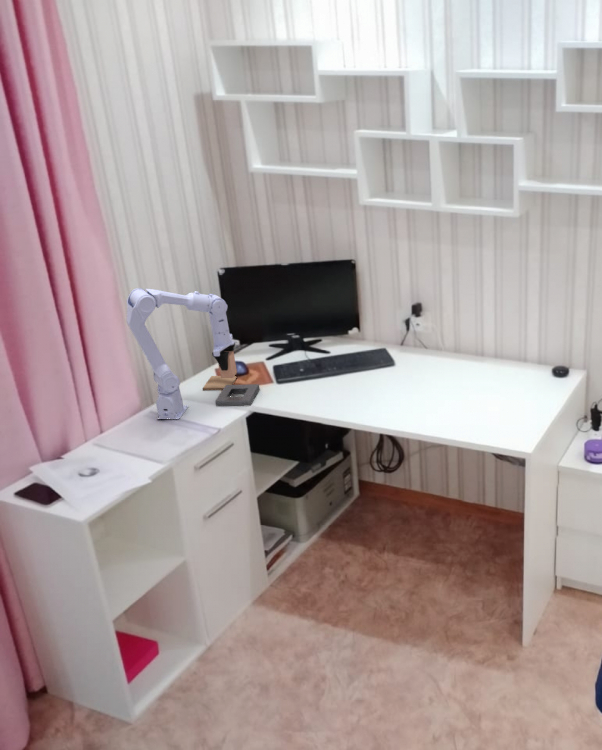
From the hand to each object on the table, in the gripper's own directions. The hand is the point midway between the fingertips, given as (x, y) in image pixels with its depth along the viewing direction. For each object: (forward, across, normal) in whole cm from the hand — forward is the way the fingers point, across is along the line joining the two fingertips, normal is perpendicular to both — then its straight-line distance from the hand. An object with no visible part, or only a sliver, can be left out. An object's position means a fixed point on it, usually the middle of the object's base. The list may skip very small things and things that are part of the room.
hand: (227, 366), depth 299 cm
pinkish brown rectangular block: (+3, 0, 0) cm, 3 cm away
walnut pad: (+10, +7, +7) cm, 14 cm away
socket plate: (+10, -4, -4) cm, 11 cm away
